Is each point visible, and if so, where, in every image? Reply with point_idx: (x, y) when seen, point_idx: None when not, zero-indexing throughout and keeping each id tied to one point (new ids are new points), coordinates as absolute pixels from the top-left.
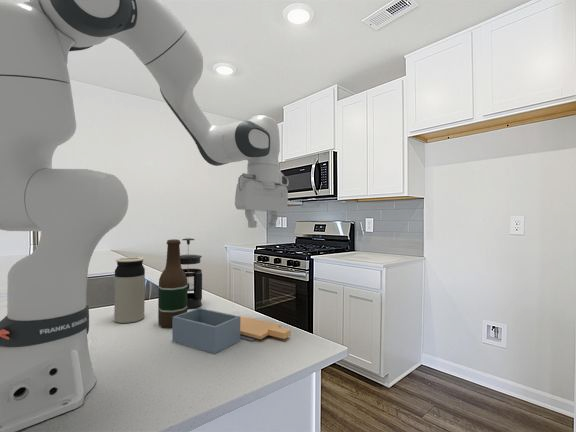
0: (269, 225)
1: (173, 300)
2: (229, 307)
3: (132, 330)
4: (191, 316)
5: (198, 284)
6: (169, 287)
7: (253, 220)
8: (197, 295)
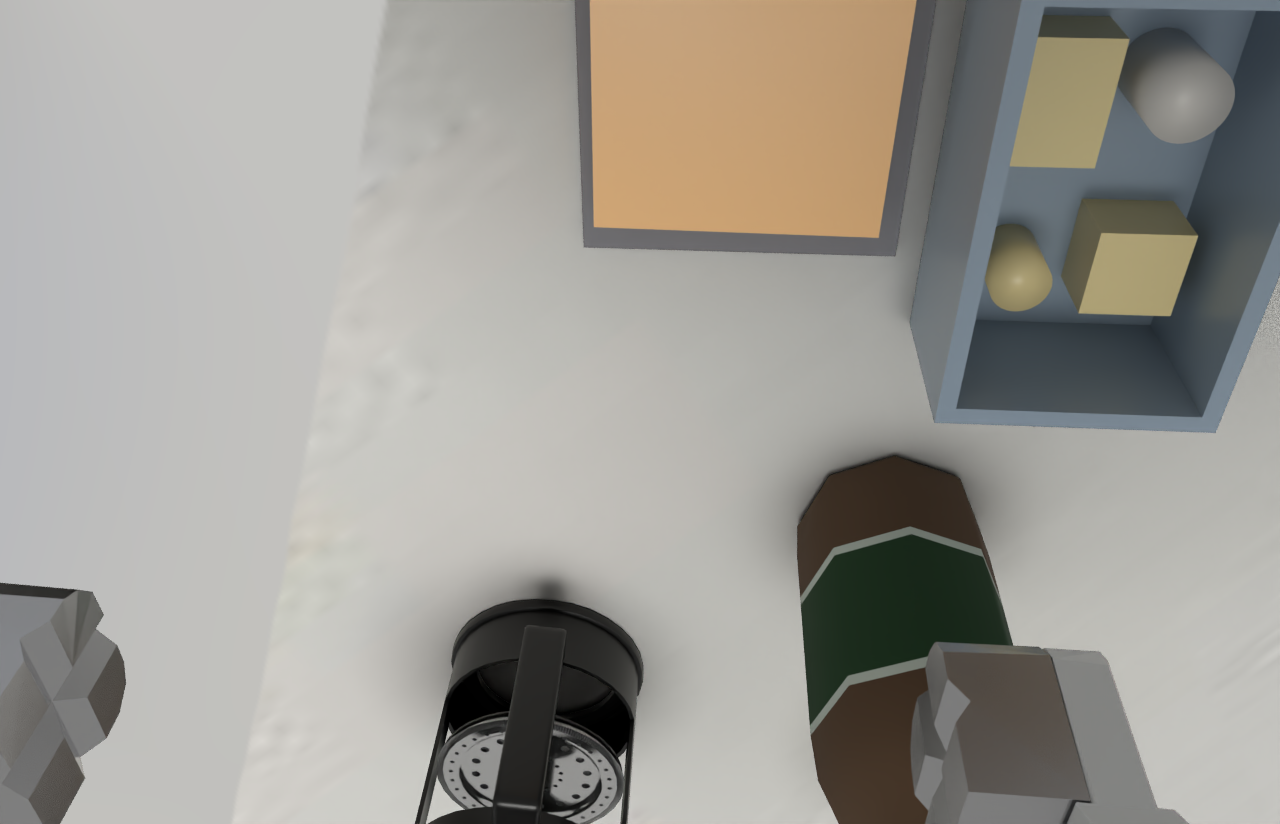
0: (102, 703)
1: (990, 610)
2: (389, 450)
3: (1075, 609)
4: (1034, 388)
5: (545, 727)
6: None
7: (1174, 817)
8: (561, 659)
